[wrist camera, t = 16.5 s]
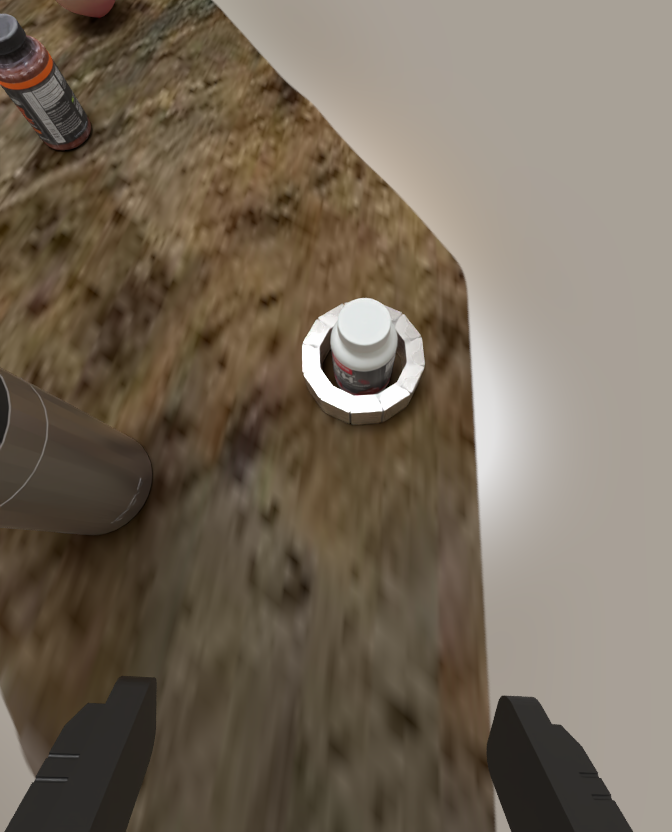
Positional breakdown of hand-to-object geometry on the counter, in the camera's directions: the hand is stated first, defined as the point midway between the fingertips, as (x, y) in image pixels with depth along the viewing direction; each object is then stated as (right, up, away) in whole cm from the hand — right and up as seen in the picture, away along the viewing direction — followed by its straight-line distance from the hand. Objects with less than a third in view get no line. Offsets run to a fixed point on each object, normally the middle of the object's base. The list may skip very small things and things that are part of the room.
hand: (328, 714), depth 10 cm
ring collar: (+3, +11, +32) cm, 34 cm away
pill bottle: (+3, +11, +32) cm, 34 cm away
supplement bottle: (-32, +40, +43) cm, 67 cm away
